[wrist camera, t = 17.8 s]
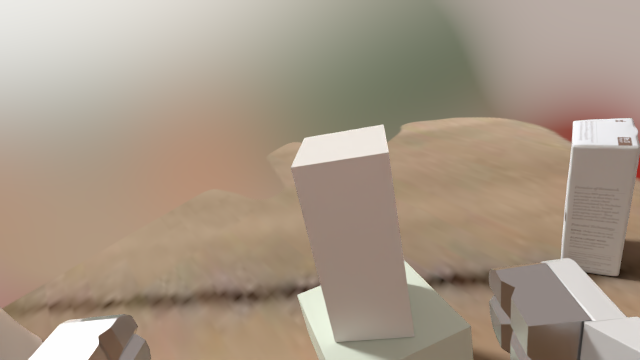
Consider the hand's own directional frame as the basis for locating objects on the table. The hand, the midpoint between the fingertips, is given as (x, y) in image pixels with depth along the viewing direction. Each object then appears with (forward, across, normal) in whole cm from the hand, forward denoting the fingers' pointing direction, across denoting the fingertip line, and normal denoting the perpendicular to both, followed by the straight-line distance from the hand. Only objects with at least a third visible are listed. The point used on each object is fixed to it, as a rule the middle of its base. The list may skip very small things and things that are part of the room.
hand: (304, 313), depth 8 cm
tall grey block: (+11, -1, +11) cm, 16 cm away
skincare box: (+23, -21, +19) cm, 36 cm away
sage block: (+12, -1, +15) cm, 19 cm away
